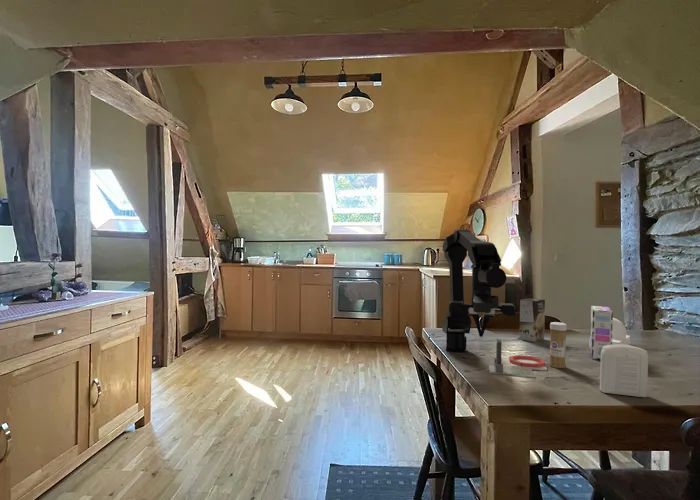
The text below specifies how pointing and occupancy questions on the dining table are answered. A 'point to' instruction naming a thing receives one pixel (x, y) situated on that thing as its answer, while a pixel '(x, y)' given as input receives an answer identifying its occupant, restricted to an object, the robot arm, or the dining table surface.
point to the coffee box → (532, 319)
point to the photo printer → (624, 370)
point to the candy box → (600, 329)
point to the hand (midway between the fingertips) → (481, 336)
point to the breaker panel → (510, 370)
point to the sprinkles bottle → (558, 344)
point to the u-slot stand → (618, 333)
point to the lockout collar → (527, 362)
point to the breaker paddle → (498, 350)
